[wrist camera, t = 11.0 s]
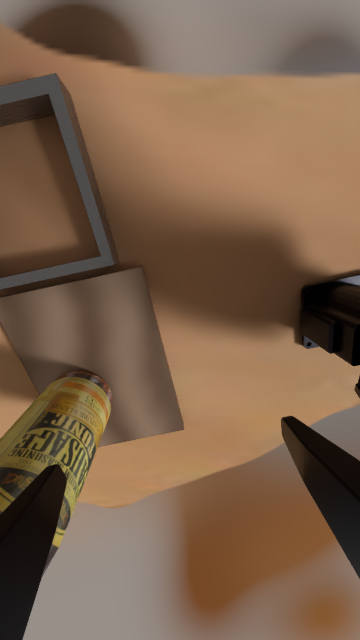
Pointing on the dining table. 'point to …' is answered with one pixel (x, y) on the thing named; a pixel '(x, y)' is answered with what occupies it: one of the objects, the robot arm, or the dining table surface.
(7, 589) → the robot arm
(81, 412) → the sauce bottle
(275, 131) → the dining table surface
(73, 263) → the grey square frame
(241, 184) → the dining table surface
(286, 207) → the dining table surface
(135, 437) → the brown flat slab
